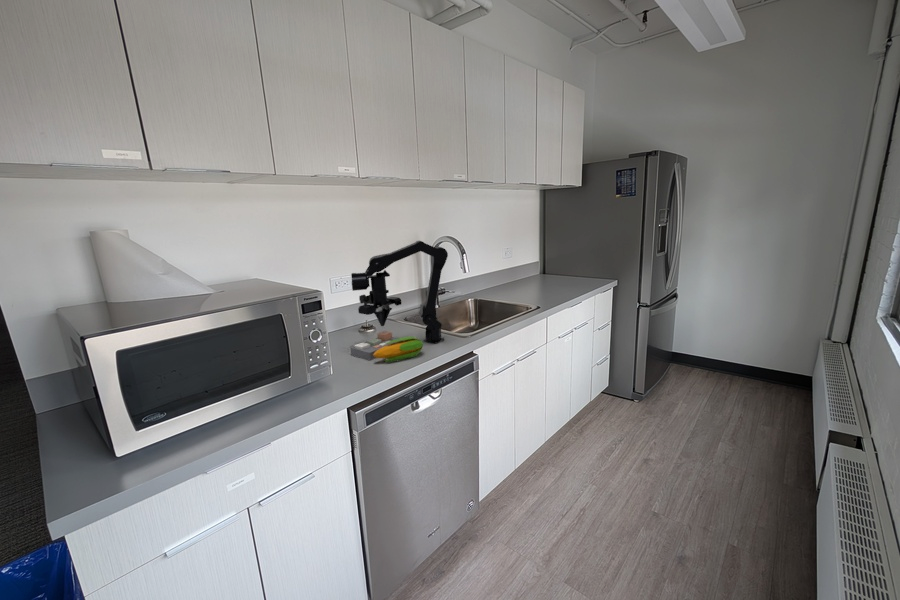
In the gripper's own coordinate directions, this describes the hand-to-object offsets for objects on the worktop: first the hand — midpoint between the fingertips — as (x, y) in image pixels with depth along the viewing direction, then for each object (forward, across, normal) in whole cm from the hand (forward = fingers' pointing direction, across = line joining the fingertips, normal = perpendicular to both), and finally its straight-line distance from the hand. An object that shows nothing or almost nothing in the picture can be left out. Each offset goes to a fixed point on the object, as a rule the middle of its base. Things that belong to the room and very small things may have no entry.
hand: (382, 325), depth 163 cm
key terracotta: (+7, -1, 0) cm, 7 cm away
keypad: (+9, +5, +2) cm, 10 cm away
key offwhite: (+8, +11, 0) cm, 14 cm away
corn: (+9, +7, +15) cm, 19 cm away
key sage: (+8, +5, 0) cm, 10 cm away
